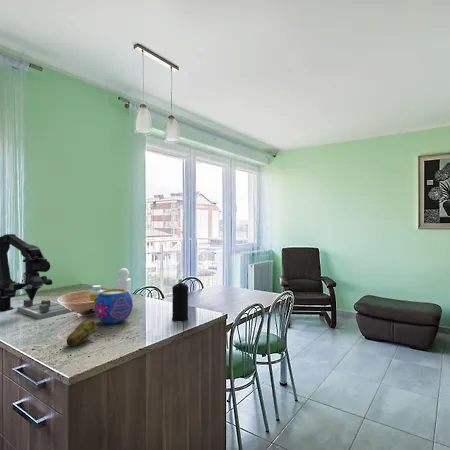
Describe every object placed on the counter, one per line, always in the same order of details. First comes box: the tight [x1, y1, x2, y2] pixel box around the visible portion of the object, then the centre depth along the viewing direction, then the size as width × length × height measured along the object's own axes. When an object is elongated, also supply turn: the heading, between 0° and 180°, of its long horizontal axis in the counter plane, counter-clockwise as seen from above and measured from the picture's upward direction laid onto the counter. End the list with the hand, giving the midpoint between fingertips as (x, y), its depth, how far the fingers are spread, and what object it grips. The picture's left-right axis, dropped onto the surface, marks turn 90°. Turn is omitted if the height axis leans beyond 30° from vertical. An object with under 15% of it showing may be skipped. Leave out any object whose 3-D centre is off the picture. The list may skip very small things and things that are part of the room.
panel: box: [16, 298, 71, 320], centre depth 169 cm, size 25×18×6 cm
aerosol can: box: [171, 278, 190, 322], centre depth 155 cm, size 8×8×20 cm
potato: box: [66, 319, 97, 347], centre depth 125 cm, size 8×13×8 cm, turn 142°
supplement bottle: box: [89, 284, 103, 302], centre depth 173 cm, size 7×7×13 cm
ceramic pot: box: [94, 288, 134, 325], centre depth 151 cm, size 18×18×15 cm
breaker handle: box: [40, 299, 51, 307], centre depth 169 cm, size 4×3×3 cm
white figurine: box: [115, 267, 132, 296], centre depth 178 cm, size 6×6×22 cm
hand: (31, 300), depth 163 cm, fingers closed
